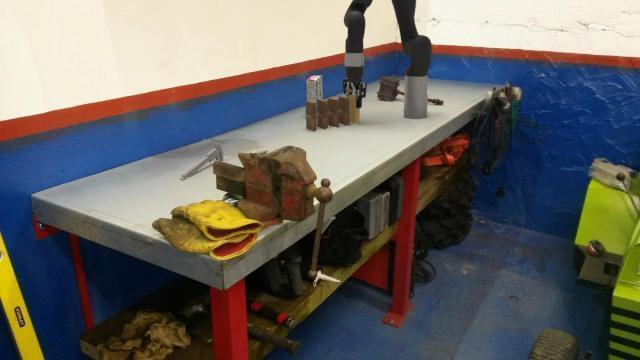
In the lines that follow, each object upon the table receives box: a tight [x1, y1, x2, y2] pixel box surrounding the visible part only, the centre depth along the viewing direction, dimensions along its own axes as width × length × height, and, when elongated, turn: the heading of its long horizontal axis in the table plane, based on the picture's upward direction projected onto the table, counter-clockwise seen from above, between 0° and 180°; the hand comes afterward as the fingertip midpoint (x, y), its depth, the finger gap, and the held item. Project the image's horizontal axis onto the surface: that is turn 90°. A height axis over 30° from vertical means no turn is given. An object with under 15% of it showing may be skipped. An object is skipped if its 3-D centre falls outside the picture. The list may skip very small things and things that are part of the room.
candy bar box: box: [305, 75, 324, 110], centre depth 217 cm, size 11×5×16 cm, turn 168°
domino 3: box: [326, 96, 340, 128], centre depth 200 cm, size 2×5×11 cm, turn 30°
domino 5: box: [348, 94, 361, 125], centre depth 205 cm, size 2×5×11 cm, turn 30°
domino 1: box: [304, 100, 318, 132], centre depth 196 cm, size 2×5×11 cm, turn 30°
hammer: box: [376, 75, 445, 106], centre depth 241 cm, size 7×33×10 cm, turn 57°
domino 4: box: [337, 95, 351, 127], centre depth 203 cm, size 2×5×11 cm, turn 30°
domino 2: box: [317, 98, 329, 130], centre depth 198 cm, size 2×5×11 cm, turn 30°
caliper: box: [179, 142, 224, 181], centre depth 154 cm, size 20×1×6 cm, turn 155°
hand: (354, 106), depth 204 cm, fingers open, 6 cm apart
